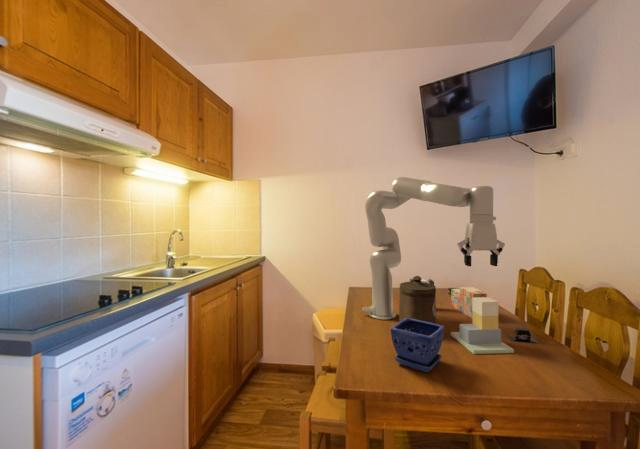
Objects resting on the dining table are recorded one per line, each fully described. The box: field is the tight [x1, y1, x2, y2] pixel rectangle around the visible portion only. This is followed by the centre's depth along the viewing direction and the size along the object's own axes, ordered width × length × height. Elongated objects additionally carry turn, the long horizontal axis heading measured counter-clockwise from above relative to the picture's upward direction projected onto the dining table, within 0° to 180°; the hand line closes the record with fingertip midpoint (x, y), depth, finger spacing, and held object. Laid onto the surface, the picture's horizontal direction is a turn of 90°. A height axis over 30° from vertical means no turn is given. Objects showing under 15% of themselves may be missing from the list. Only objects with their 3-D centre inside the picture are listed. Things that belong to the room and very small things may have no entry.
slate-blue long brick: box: [459, 323, 502, 344], centre depth 105 cm, size 12×6×5 cm, turn 92°
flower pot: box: [390, 318, 445, 373], centre depth 91 cm, size 13×13×12 cm
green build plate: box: [450, 331, 515, 355], centre depth 105 cm, size 14×16×1 cm
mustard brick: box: [472, 311, 499, 330], centre depth 105 cm, size 6×6×5 cm
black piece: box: [505, 326, 541, 345], centre depth 108 cm, size 12×7×5 cm, turn 73°
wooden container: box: [398, 275, 437, 335], centre depth 121 cm, size 15×15×22 cm
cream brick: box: [472, 296, 499, 317], centre depth 105 cm, size 6×6×5 cm
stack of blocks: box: [450, 286, 488, 320], centre depth 141 cm, size 21×6×12 cm, turn 2°
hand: (480, 265), depth 106 cm, fingers open, 9 cm apart
